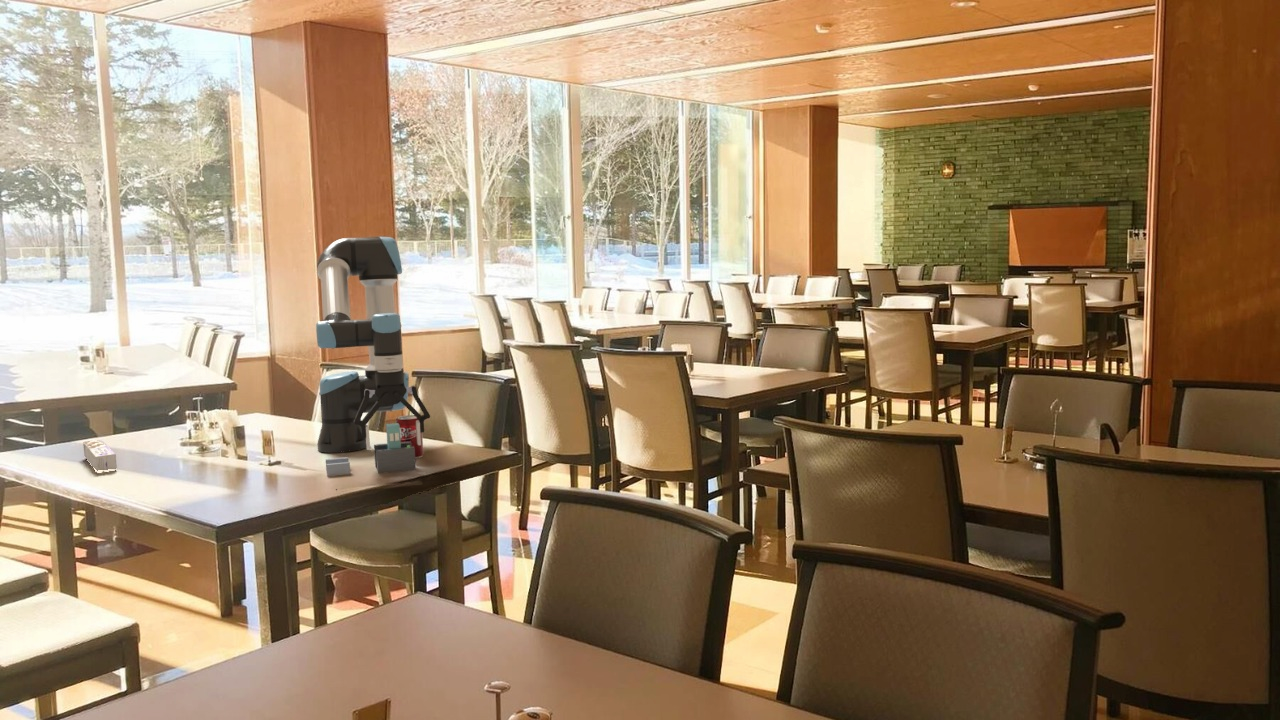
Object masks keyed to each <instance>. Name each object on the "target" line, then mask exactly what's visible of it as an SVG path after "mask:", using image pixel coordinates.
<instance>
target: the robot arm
mask: <svg viewBox="0 0 1280 720" xmlns="http://www.w3.org/2000/svg"><path fill="white" fill-rule="evenodd" d="M316 273H317V274H316V275H317V277H318V279H319V280H320V285H321V286H320V287H321V303H322V304H321V305H322V308H321V309H322V320H323V321H318V322H317V323H316V325H315V327H316V342H317V343H316V344H317V347H318V348H320V349H341V348H342V349H344V348H355V347H368V355H369V356H368V358H369V364H368V365H367V367H365V369H364V372H365V373H364V375H359V372H358V371H356V370H355V371H354V370H352V371H343V372H338V373H334V374H330V375H327V376H326V375H325V376H324V377H323V378H322V379H320V381H319V392H318V393H319V396H320V399H319V400H320V413H321V414H320V415H321V429H320V433H319V436H318V439H317V451H318V452H320V453H327V454H328V453H329V454H332V453H335V454H336V453H337V454H338V453H339V454H340V453H349V452H355V451H361V450H365V449H366V450H367V451H371V444H370V443H371V441H370V428H369V427H370V426H369V424H368V423H369V422H370V421H371V419H372V418H373V416H374V415H375V414H376V413H380V412H393V411H401V410H404V409H405V408H406V409H407V410H409V412H411V414H412V415H415V416H416V417H417V418H418V419H419V420H417V421H416V432H417V444H418V445H421V435H420V433H422V434H423V433H425V423H424V422H425V421H426V420H427V419H430V418H431V414H430V413H429V411H428V409H427V408H426V406H425V404H424V402H423V401H422V399H421V398H420V396H419V395H418V390H417V387H416V385H414V384H413V385H411V386H409V383H410V382H409V381H410V380H409V378H410V377H409V373H408V372H406V371H404V370H405V369H404V359H403V358H404V357H403V347H402V346H403V344H402V343H403V342H402V341H403V340H402V323H401V316H400V314H399V313H396V309H395V308H396V307H395V295H394V294H395V293H394V285H395V283H396V282H398V275H401V274H402V273H403V268H402V261H401V256H400V251H399V247H398V244H397V240H396V239H395V238H393V237H390V236H371V237H370V236H368V237H367V236H366V237H343V238H340V239H337V240H334V241H333V242H332V243H330V244H328V246H327V247H325V248H324V250H322V252H321V253H320V255H319V258H318V260H317V262H316ZM350 276H351V277H352V276H353V277H354V276H355V277H356V276H357V277H358V282H359V283H360V284H361V285H362V286H363V287H364V295H365V296H364V297H365V314H366V318H364V319H352V317H351V306H350V295H349V294H350V293H349V281H348V279H349V278H350ZM409 394H410V395H411V396H413V398H414V400H415V402H416V403H417V405H418V407H419V409H420V410H421V412H422V413H423V414H421V413H419V411H417V410H416V409H415V408H414V407H413V406H412V405H411V404H410V402H408V397H409ZM364 414H365V416H364V417H363V418H362V416H363V415H364Z"/></svg>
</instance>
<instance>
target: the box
mask: <svg viewBox="0 0 1280 720" xmlns="http://www.w3.org/2000/svg"><path fill="white" fill-rule="evenodd" d="M82 444H83V455H84V456H85V457H86V459H87V460H88V461H89V462H90V463H91V465H92V466H93V467H94V468H95V469H96V470H97V471H98V470H108V469H116V468H117V469H118V465H117V456H116V455H117V454H116V453H115V452H114V451H113V450H112V449H111V448H110V446H109V445H107V443H105V442H104V440H103V439H97V440H96V439H95V440H89V441H88V440H87V441H83V443H82ZM84 456H83V457H84ZM86 459H85V460H86ZM87 460H86V461H87Z"/></svg>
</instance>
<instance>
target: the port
mask: <svg viewBox="0 0 1280 720" xmlns="http://www.w3.org/2000/svg"><path fill="white" fill-rule="evenodd" d="M373 451H374V453H373V454H374V466H375V470H376V472H377V474H386V473H396V472H397V473H398V472H406V471H416V469H417V467H416V459H415V448H414V447H412V445H411V441H409V442H401V448H393V449H388V446H387V443H379V444H373Z"/></svg>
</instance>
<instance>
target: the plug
mask: <svg viewBox="0 0 1280 720" xmlns="http://www.w3.org/2000/svg"><path fill="white" fill-rule="evenodd" d="M385 427H386V428H385V430H386V441H387V442H386V444H387V446H388V449H393V448H401V442H400V425H399V424H398V423H396V422H395V423H386V424H385Z"/></svg>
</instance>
